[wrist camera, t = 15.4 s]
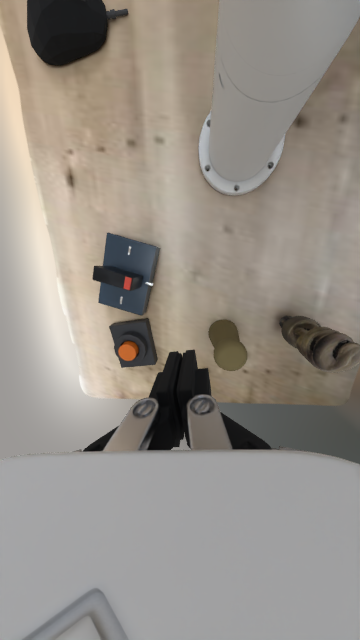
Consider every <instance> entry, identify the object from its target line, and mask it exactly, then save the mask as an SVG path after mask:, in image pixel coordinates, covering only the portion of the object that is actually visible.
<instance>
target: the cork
mask: <svg viewBox="0 0 360 640" xmlns="http://www.w3.org/2000/svg"><path fill="white" fill-rule="evenodd" d="M209 338H210V340H211V342H212V344H213V346H214V348H215V349H214V359H215V362H216V363H217V365H218V366H219V367H220V368H222V369H224V370H227V371H235V370H238V369H240V368H241V367H243V365H244V364H245V363H246V361H247V351H246V348H245V346H244V345H243V344H242V343H241V342H240V340H239V335H238V330H237V327H236V326H235V324H234V323H233V322H231V321H229V320H219V321H216V322H215V323H213V324H212V325H211V327H210V329H209Z"/></svg>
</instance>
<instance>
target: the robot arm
mask: <svg viewBox="0 0 360 640" xmlns="http://www.w3.org/2000/svg"><path fill="white" fill-rule="evenodd" d="M359 17H360V0H219V13H218V26H217V40H216V53H215V67H214V81H213V95H212V108H211V112H210V113H209V115H208V116H207V118H206V120H205V122H204V125H203V127H202V130H201V134H200V139H199V162H200V167H201V170H202V173H203V175H204V177H205V179H206V180H207V182H208V183H209V184H210V185H211V186H212V187H213V188H214V189H215V190H217V191H219V192H221V193H223V194H227V195H242V194H246V193H248V192H251V191H253V190H254V189H256V188H257V187H259V186H260V185H261V184H262V183H263V182H264V181H266V179H267V178H268V177H269V176H270V175H271V173H272V172H273V170H274V169H275V167H276V165H277V163H278V161H279V159H280V157H281V154H282V150H283V147H284V140H285V133H286V132H287V130H288V129H289V127H290V126H291V124H292V123H293V121H294V120H295V118H296V117H297V115H298V114H299V112H300V111H301V109H302V107H303V106H304V104H305V103H306V101H307V100H308V98H309V97H310V95H311V94H312V92H313V91H314V89H315V88H316V86H317V85H318V83H319V82H320V80H321V78H322V77H323V75H324V74H325V72H326V71H327V69H328V68H329V66H330V64H331V63H332V61H333V60H334V58H335V57H336V55H337V54H338V52H339V51H340V49H341V47H342V46H343V44H344V43H345V41H346V40H347V38H348V36H349V35H350V33H351V31H352V30H353V28H354V26H355V24H356V23H357V21H358V19H359ZM208 126H210V127H208ZM268 167H270V169H269V168H268ZM207 169H208V170H209V171H208V172H207V171H206V170H207ZM235 188H237V191H235V190H234V189H235ZM184 432H185V437H186V440H187V445H188V446H189V448H190V449H191V450H171V449H172V448H173V447H179V445H180V440H181V439H183V438H184ZM0 640H360V464H357V463H354V462H350V461H347V460H344V459H341V458H338V457H333V456H328V455H324V454H319V453H313V452H307V451H302V450H297V449H291V448H286V447H280V446H279V449H275V448H271V447H270V446H269V445H268V444H267V443H266V442H265V441H263V440H262V439H260V438H259V437H257V436H256V435H254V434H253V433H251V432H250V431H248V430H247V429H245V428H244V427H242V426H241V425H239V424H238V423H236V422H234V421H233V420H232V419H230V418H229V417H227V416H226V415H224V414H223V413H221V412H220V410H219V407H218V404H217V401H216V400H215V399H214V398H213V397H212V396H211V387H210V379H209V372H208V368H205V369H198V367H197V361H196V355H195V350H187V351H186V353H183V357H182V354H181V353H178V351H177V352H170V353H169V356H168V358H167V361H166V364H165V367H164V370H163V372H159V373H158V374H157V377H156V380H155V382H154V385H153V387H152V390H151V393H150V395H149V398H144V399H141V400H139V401H138V402H136V403H135V404H134V405H133V406H132V407H131V408H130V410H129V411H128V413H127V414H126V416H125V418H124V419H123V421H122V422H121V424H120V425H119V426H118V427H116V428H115V429H113V430H112V431H110V432H109V433H107V434H106V435H104V436H102V437H101V438H99V439H98V440H96V441H95V442H93V443H92V444H90V445H89V446H88V447H87V448H85V449H84V450H83V451H81V450H77V451H73V452H60V453H59V452H58V453H41V454H27V455H20V456H14V457H10V458H6V459H2V460H0Z"/></svg>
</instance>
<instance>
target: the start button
mask: <svg viewBox="0 0 360 640" xmlns="http://www.w3.org/2000/svg"><path fill="white" fill-rule="evenodd" d="M138 352H139V349H138V346H137V345H136V343H134V342H132V341H126V342H124V343H123V344H122V345H121V346H120V348H119V350H118V353H119V356H120V357H121V358H122V359H123V360H126V361H131V360H133V359H134V358H135V357H136V355H137V354H138Z"/></svg>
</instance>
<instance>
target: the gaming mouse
mask: <svg viewBox="0 0 360 640" xmlns="http://www.w3.org/2000/svg"><path fill="white" fill-rule="evenodd" d="M123 15H128V10H127V9H123V10H118V11H115V10H114V9H113V10H110V12H109V11H106V9H105V5H104V3H103V2H102V0H27V30H28V34H29V37H30V41H31V45H32V47H33V49H34V50H35V51H36V53H37V54H38V55H39V57H40V58H41V59H42V60H43V61H45V62H46V63H48V64H52V65H63V64H65V63H68V62H71V61H73V60H75V59H77V58H80V57H82V56H85V55H87V54H90V53H92V52H94V51H96V50H98V49H99V48H100V46H101V45H102V44H103V42H104V41H105V40H106V32H107V19H108V20H109V19H110V18H111V19H116V17H117V16H123Z"/></svg>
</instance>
